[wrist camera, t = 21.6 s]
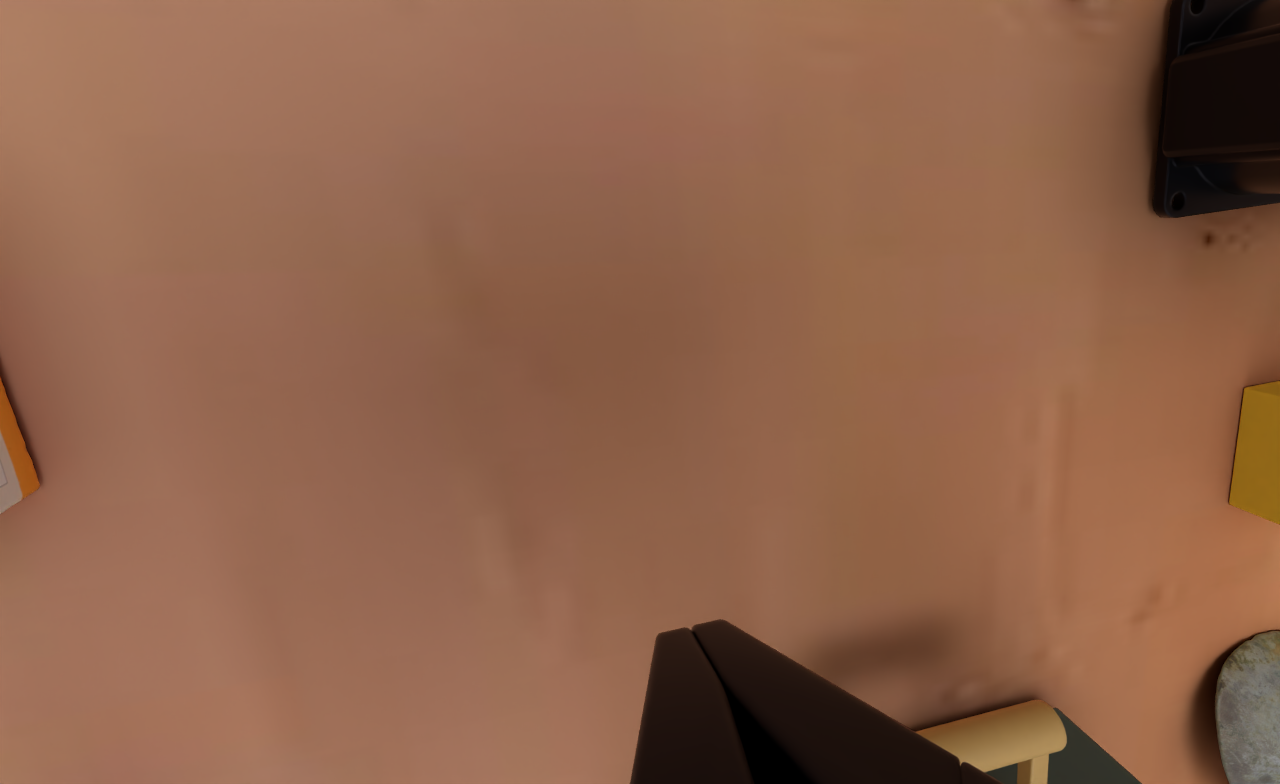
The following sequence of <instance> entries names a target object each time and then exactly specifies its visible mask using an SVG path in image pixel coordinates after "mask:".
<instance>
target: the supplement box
mask: <svg viewBox="0 0 1280 784" xmlns="http://www.w3.org/2000/svg"><path fill="white" fill-rule="evenodd" d="M39 487H40V484H39V481H38V478H37V475H36V471H35V469H34V467H33V462H32V459H31V458H30V456H29V454H28V452H27V450H26V445H25V442H24V440H23V437H22V435H21V433H20V430H19V428H18V425H17V423H16V418H15V415H14V413H13V410H12V407H11V405H10V403H9V401H8V398H7V395H6V392H5V388H4V386H3V384H2V381H1V376H0V514H1V513H3V512H4V511H6V510H7V509H8V508H10V507H11V506H13V505H14V504H16V503H18V502H20V501H21V500H22V499H24V498H25V497H27V496H28V495H30V494H31V493H33V492H34V491H36V490H37V489H38V488H39Z"/></svg>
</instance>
